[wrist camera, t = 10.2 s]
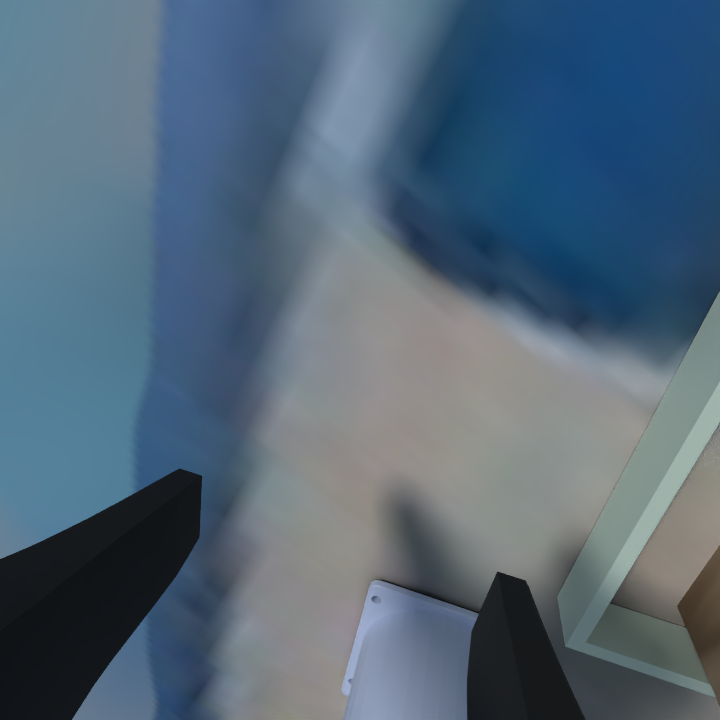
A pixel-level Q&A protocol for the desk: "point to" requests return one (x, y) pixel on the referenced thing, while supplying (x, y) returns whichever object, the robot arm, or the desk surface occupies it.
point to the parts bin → (646, 528)
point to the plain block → (705, 619)
